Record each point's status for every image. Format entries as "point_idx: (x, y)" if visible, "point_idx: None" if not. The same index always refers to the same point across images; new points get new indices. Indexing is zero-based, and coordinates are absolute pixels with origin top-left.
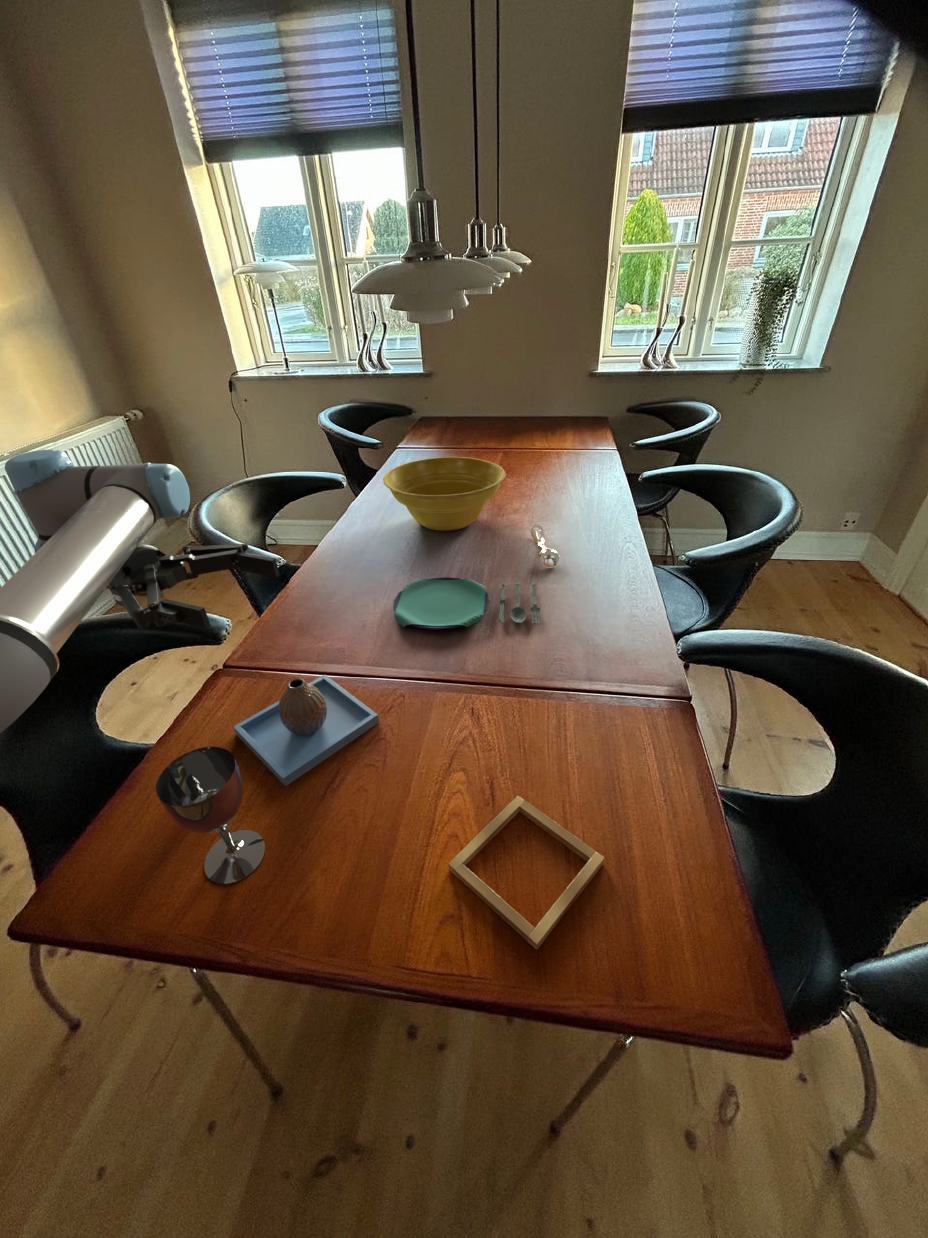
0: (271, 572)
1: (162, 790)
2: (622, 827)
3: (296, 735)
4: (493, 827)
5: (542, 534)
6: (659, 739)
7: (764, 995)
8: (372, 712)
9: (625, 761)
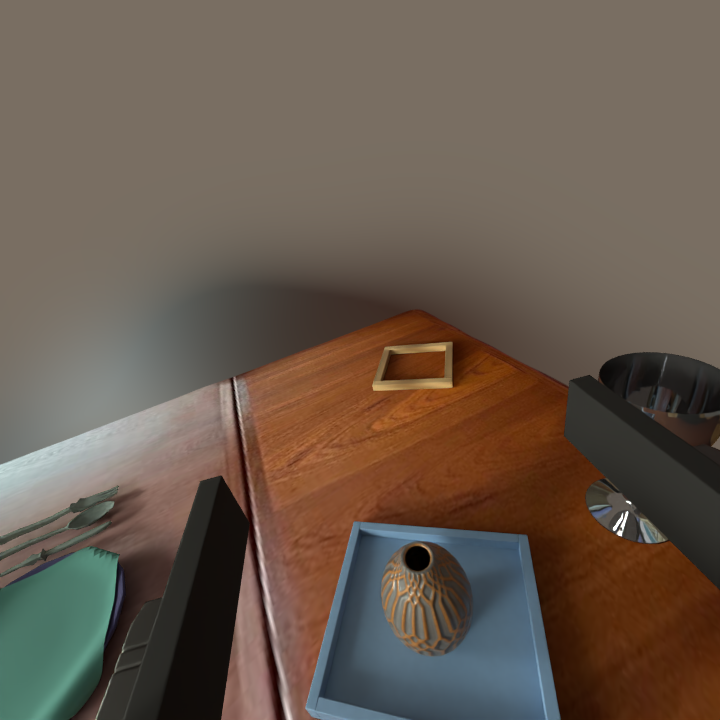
0: (240, 526)
1: None
2: (357, 356)
3: None
4: (406, 381)
5: None
6: (277, 370)
7: (403, 313)
8: (354, 530)
9: (305, 372)
